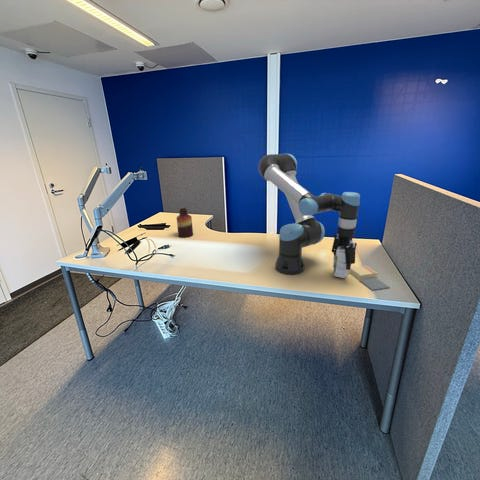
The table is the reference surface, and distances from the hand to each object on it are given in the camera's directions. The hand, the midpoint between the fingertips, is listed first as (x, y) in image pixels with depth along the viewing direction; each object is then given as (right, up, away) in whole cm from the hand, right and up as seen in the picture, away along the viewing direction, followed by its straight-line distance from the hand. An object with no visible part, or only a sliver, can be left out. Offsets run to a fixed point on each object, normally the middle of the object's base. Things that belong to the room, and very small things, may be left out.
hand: (340, 270), depth 125 cm
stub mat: (+13, -6, -6) cm, 16 cm away
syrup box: (0, -2, +1) cm, 2 cm away
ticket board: (+12, -2, +3) cm, 12 cm away
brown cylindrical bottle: (-90, +18, +66) cm, 113 cm away
